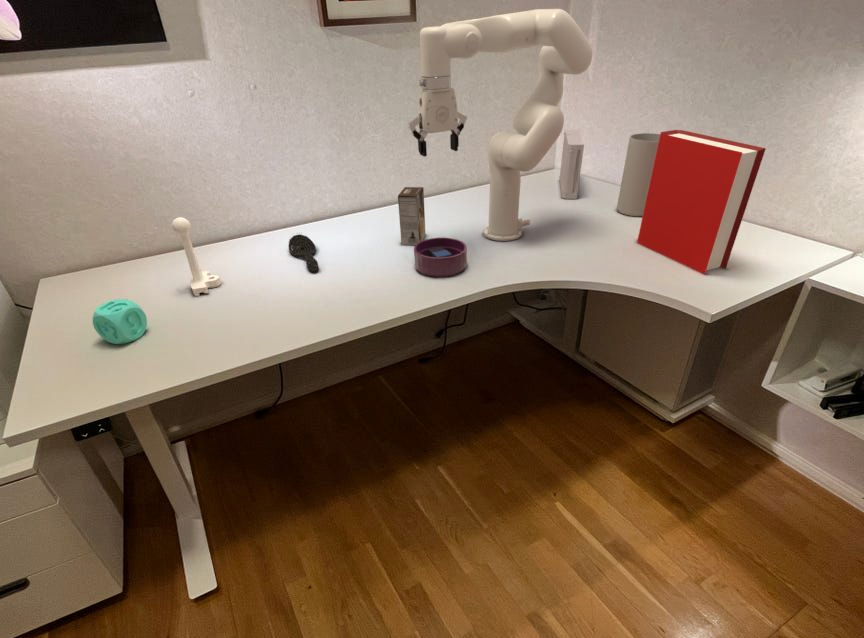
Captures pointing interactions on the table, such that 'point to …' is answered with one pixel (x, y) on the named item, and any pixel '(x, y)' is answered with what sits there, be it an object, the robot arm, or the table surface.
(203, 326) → the table surface
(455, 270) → the bowl
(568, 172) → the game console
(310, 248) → the hairbrush
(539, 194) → the table surface
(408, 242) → the coffee box
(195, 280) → the joystick
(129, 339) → the decorative dice
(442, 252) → the eraser
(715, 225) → the book
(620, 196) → the cylinder vase
